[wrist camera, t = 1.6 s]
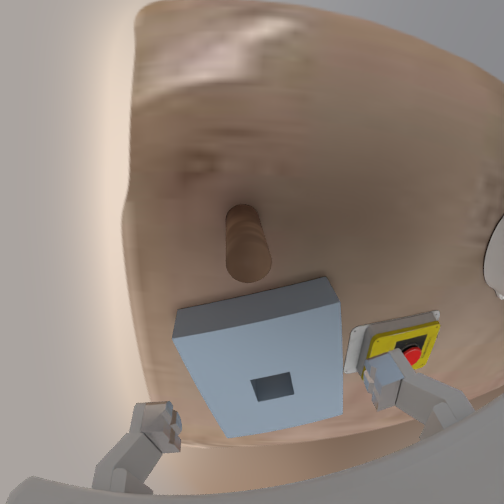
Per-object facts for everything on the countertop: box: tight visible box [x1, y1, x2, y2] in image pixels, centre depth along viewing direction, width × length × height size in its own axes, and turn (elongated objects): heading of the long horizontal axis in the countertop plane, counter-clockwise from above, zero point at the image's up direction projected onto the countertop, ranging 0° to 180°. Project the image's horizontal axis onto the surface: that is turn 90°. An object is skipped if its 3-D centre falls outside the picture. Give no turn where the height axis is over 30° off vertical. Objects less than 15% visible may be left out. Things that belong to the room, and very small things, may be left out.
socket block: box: [172, 277, 343, 438], centre depth 35 cm, size 17×21×5 cm
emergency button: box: [343, 310, 441, 381], centre depth 37 cm, size 9×4×15 cm
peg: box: [226, 205, 272, 283], centre depth 25 cm, size 3×3×9 cm
